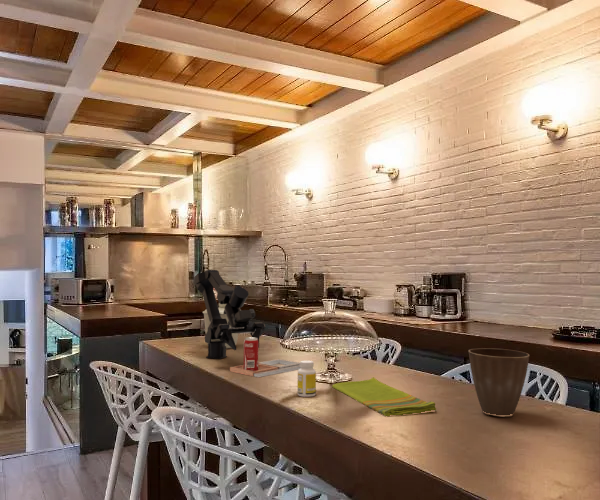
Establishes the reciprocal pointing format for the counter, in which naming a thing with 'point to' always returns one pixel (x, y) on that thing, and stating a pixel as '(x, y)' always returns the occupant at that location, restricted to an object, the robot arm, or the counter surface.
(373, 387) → the dish towel
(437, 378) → the counter surface
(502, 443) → the counter surface
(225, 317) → the canister
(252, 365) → the soda can
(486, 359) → the plant pot
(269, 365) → the socket rail
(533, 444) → the counter surface
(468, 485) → the counter surface
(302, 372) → the supplement bottle
